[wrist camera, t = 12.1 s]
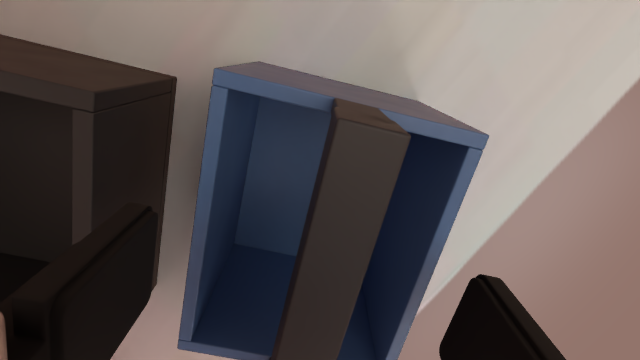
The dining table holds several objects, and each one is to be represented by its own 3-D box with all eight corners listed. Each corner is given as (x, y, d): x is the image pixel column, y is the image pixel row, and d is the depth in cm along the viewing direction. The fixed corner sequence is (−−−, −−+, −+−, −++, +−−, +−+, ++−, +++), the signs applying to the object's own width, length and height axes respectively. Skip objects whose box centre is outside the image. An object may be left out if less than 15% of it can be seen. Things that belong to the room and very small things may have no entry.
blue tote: (257, 61, 18) (161, 75, 7) (419, 101, 18) (568, 172, 8) (226, 244, 21) (130, 446, 10) (363, 272, 22) (408, 488, 11)
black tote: (-48, 22, 17) (-284, 3, 10) (177, 77, 18) (93, 91, 11) (-24, 250, 21) (-179, 340, 15) (156, 284, 22) (87, 384, 16)
